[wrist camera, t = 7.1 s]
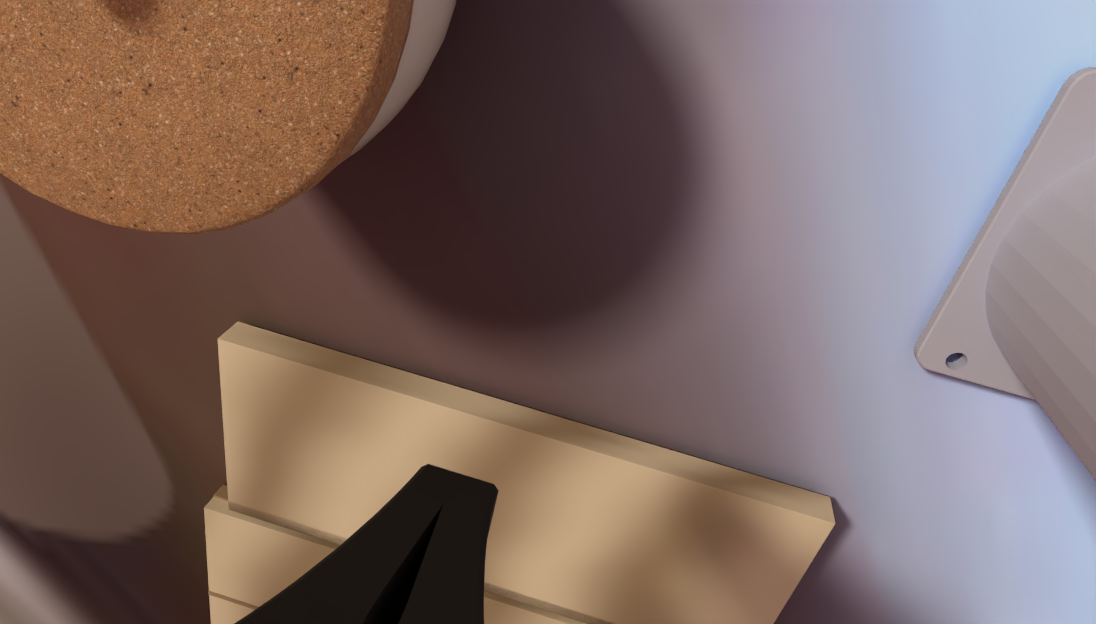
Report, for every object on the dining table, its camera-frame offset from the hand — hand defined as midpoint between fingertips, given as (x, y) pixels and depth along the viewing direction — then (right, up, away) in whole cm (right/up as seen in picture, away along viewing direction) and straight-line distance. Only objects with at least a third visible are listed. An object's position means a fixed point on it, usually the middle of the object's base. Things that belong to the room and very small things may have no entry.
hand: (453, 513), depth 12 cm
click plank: (0, -3, +12) cm, 12 cm away
